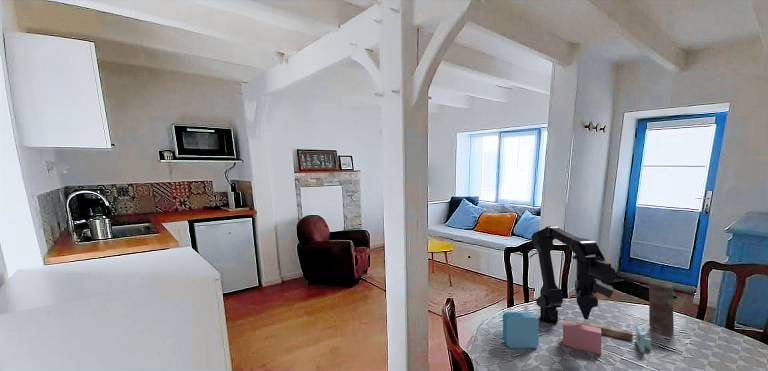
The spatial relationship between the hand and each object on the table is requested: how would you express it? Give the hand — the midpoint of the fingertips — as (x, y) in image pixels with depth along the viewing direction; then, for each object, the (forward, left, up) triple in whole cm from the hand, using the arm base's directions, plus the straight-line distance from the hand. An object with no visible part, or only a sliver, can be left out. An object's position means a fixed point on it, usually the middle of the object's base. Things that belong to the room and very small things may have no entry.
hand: (585, 313), depth 113 cm
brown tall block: (+27, +28, -13) cm, 41 cm away
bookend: (+19, +9, -13) cm, 24 cm away
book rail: (+7, +14, -13) cm, 20 cm away
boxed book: (-1, -1, -13) cm, 13 cm away
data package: (-21, -11, -13) cm, 27 cm away
